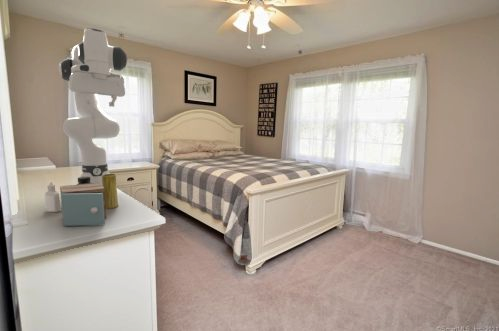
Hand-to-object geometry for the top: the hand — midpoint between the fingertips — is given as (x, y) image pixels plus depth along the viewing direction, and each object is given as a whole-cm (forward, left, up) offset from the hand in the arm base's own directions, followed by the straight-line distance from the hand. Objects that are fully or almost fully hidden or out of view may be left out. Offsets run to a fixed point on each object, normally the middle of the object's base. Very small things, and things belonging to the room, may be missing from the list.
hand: (99, 105), depth 108 cm
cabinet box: (+10, -9, -43) cm, 45 cm away
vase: (0, +2, -44) cm, 44 cm away
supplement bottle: (-11, -6, -44) cm, 45 cm away
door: (+21, -10, -43) cm, 49 cm away
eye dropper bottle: (-6, -18, -44) cm, 48 cm away
